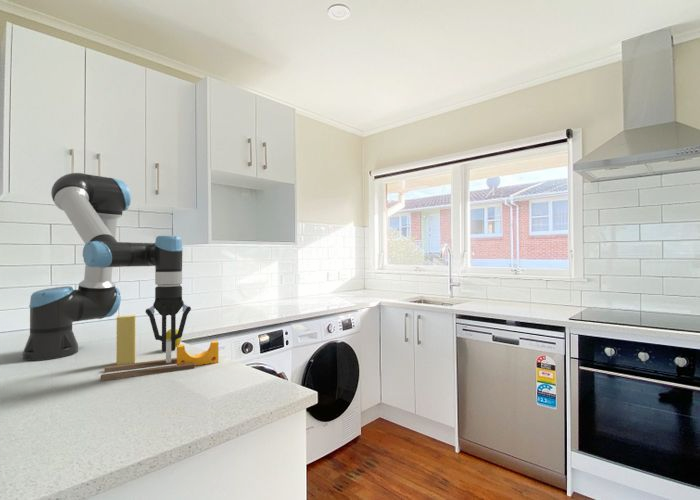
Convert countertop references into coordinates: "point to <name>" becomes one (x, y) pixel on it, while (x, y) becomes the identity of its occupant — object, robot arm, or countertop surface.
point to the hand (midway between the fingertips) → (168, 361)
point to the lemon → (168, 337)
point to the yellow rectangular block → (126, 339)
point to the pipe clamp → (198, 355)
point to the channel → (143, 371)
